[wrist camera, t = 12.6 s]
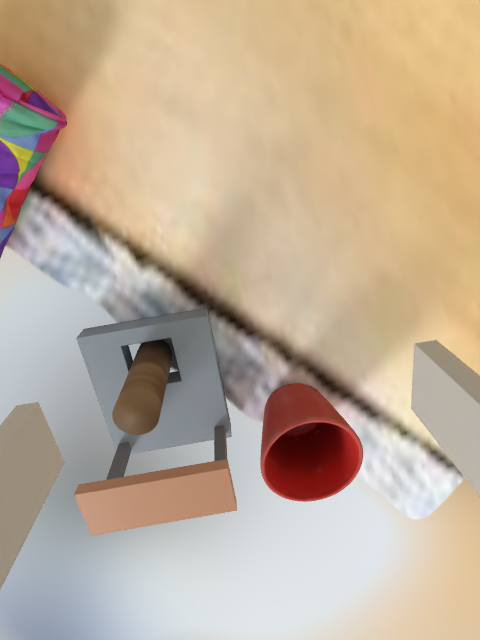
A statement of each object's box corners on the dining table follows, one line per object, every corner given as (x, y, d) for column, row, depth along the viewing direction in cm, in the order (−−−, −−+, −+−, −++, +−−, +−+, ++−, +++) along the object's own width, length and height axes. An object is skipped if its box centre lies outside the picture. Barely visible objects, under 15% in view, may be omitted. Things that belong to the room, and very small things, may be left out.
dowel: (134, 341, 43) (106, 400, 32) (168, 335, 43) (152, 392, 32) (142, 371, 44) (119, 438, 33) (176, 365, 44) (164, 430, 33)
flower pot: (234, 405, 47) (239, 461, 38) (305, 355, 45) (328, 401, 36) (283, 456, 50) (298, 518, 41) (351, 411, 48) (382, 466, 39)
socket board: (83, 329, 42) (30, 393, 29) (207, 308, 42) (205, 364, 30) (122, 442, 48) (91, 535, 35) (230, 423, 48) (236, 510, 36)
